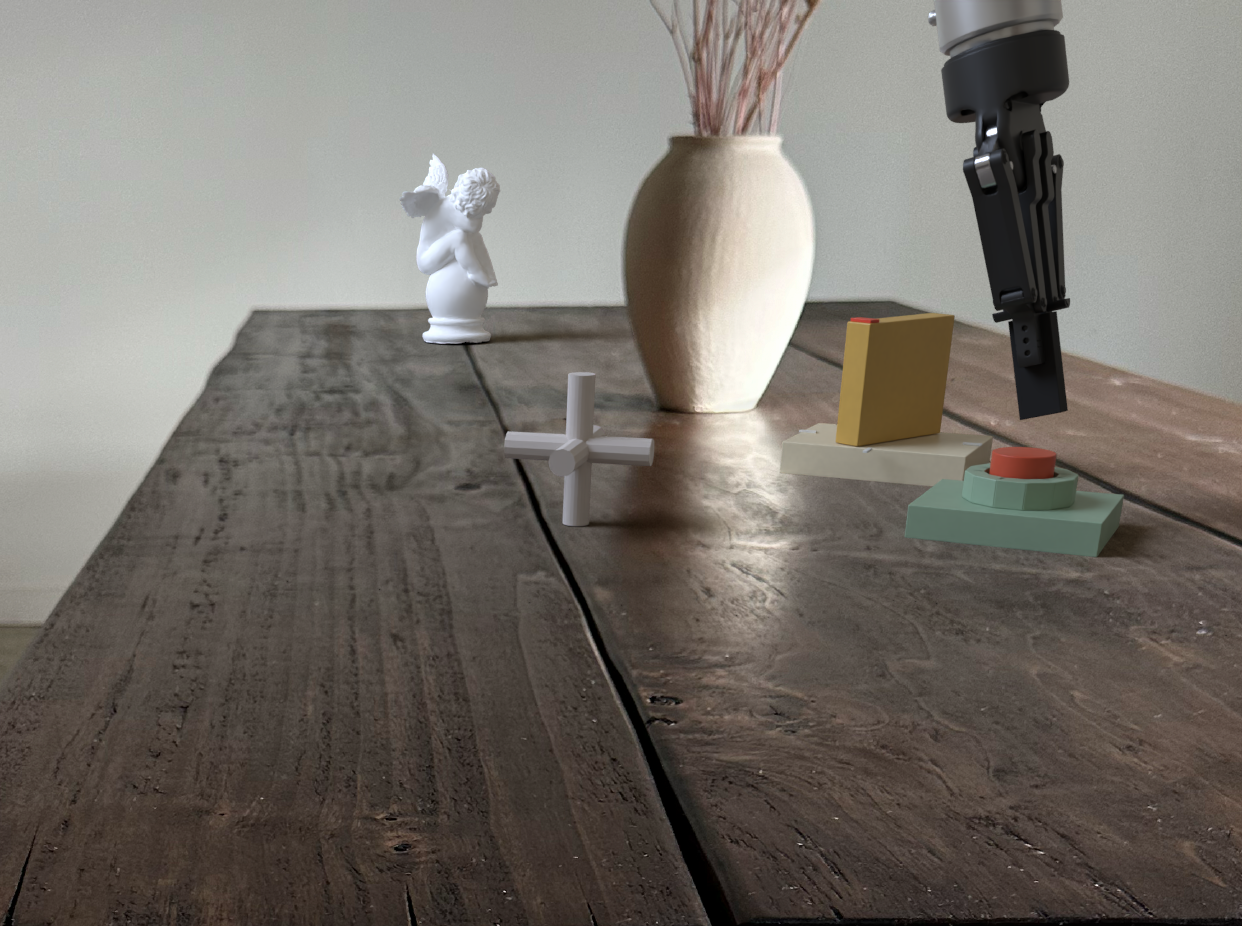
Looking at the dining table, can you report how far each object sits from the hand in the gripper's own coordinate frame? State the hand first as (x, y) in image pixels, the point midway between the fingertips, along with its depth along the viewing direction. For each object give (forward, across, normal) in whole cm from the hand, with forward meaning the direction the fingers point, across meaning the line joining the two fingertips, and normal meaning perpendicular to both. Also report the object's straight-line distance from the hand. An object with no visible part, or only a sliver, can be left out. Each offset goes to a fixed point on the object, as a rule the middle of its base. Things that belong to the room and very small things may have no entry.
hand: (1043, 415), depth 113 cm
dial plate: (+2, -12, -16) cm, 21 cm away
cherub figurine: (-21, -62, -92) cm, 113 cm away
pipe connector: (+1, +18, -26) cm, 32 cm away
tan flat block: (0, -12, -16) cm, 20 cm away
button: (+4, +4, -1) cm, 5 cm away
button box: (+7, +4, -2) cm, 8 cm away
